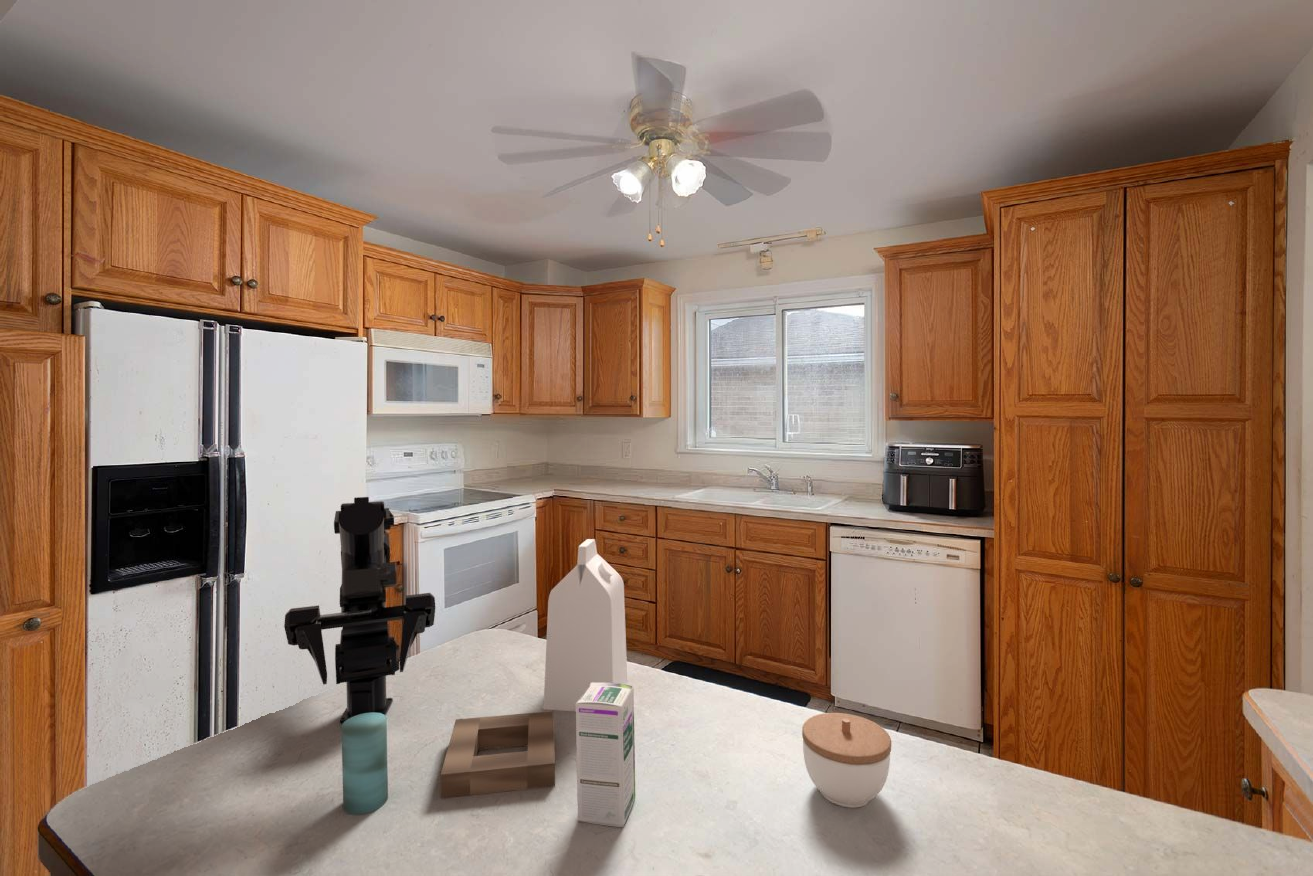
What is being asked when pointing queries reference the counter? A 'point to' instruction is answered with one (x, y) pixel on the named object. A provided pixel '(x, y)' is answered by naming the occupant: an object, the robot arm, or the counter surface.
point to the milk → (584, 631)
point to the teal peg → (364, 763)
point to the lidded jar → (846, 757)
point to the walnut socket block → (499, 755)
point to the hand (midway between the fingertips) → (364, 676)
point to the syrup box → (605, 754)
